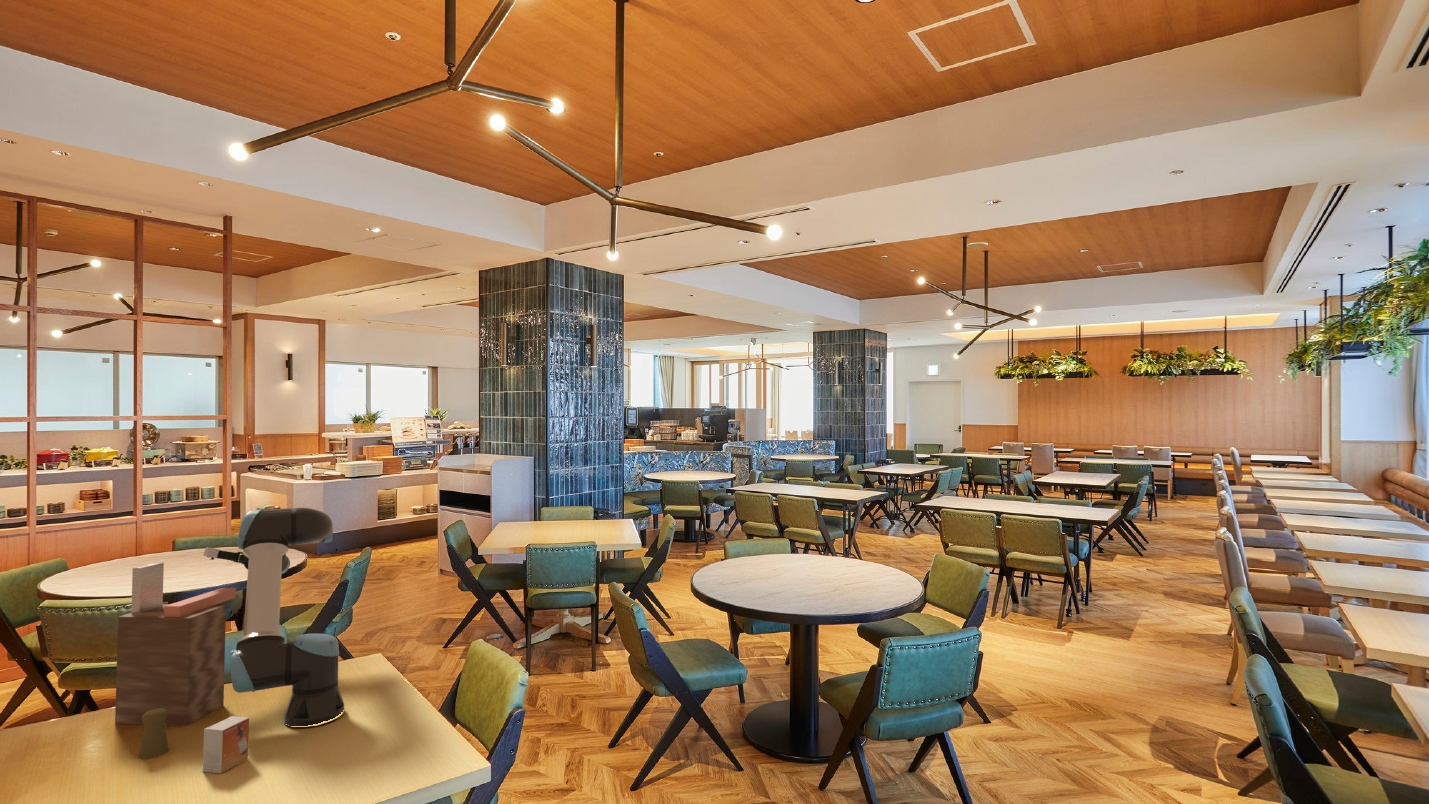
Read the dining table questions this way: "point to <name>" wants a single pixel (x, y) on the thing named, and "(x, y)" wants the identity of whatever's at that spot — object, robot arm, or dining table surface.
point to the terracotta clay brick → (199, 602)
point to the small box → (225, 744)
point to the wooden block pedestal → (170, 665)
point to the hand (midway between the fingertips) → (228, 554)
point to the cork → (154, 734)
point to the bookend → (147, 587)
